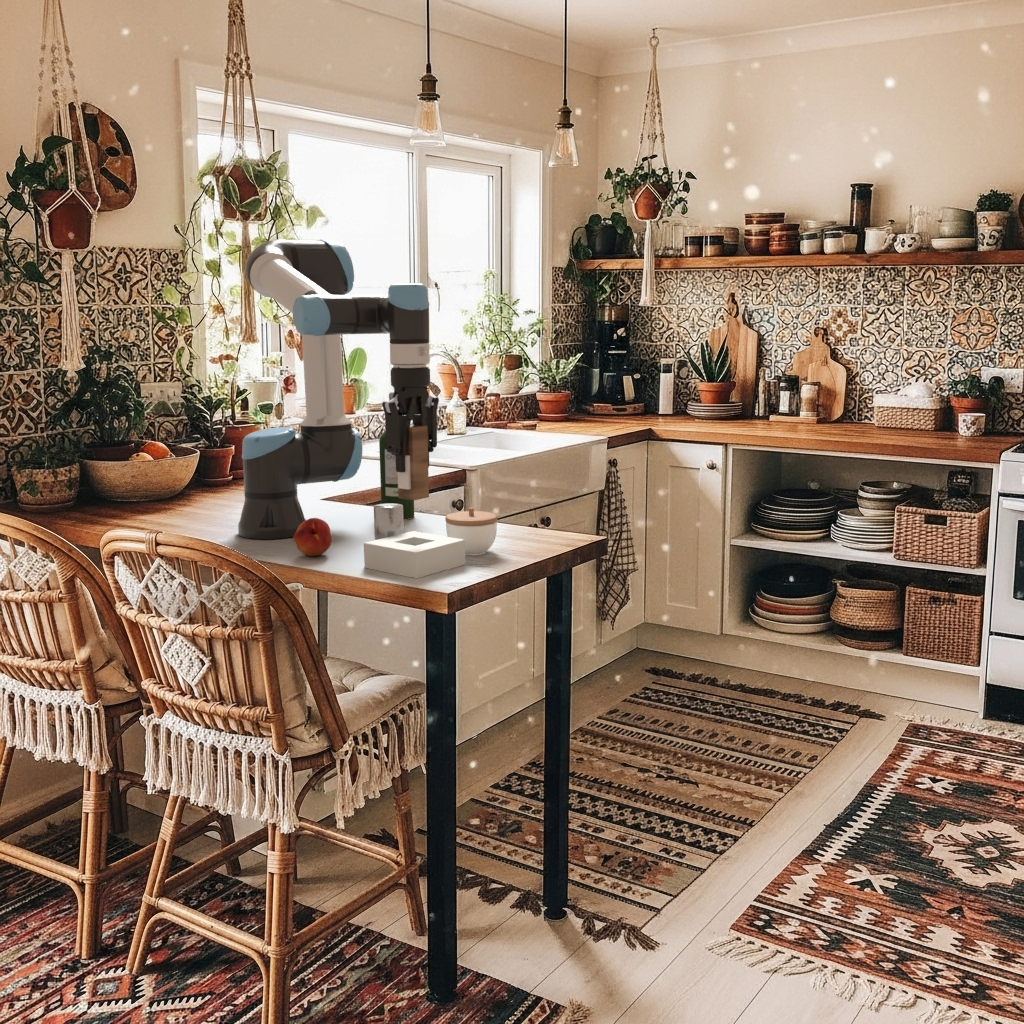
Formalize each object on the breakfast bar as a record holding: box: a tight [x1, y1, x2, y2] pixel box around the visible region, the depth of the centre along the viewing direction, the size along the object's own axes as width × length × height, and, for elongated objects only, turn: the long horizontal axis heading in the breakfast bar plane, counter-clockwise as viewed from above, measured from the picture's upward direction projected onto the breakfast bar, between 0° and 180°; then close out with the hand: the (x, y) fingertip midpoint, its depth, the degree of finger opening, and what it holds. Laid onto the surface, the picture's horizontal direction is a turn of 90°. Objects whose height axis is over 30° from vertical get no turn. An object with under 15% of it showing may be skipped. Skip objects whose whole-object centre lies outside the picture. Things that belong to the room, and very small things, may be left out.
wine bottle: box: [378, 391, 415, 521], centre depth 270 cm, size 8×8×30 cm
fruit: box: [292, 517, 333, 557], centre depth 233 cm, size 8×8×8 cm
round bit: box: [373, 503, 405, 540], centre depth 234 cm, size 6×6×10 cm
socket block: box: [363, 530, 466, 579], centre depth 223 cm, size 14×14×5 cm
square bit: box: [398, 423, 430, 501], centre depth 220 cm, size 4×4×14 cm
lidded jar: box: [445, 507, 498, 557], centre depth 235 cm, size 11×11×9 cm
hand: (413, 486), depth 221 cm, fingers closed on square bit, 4 cm apart
